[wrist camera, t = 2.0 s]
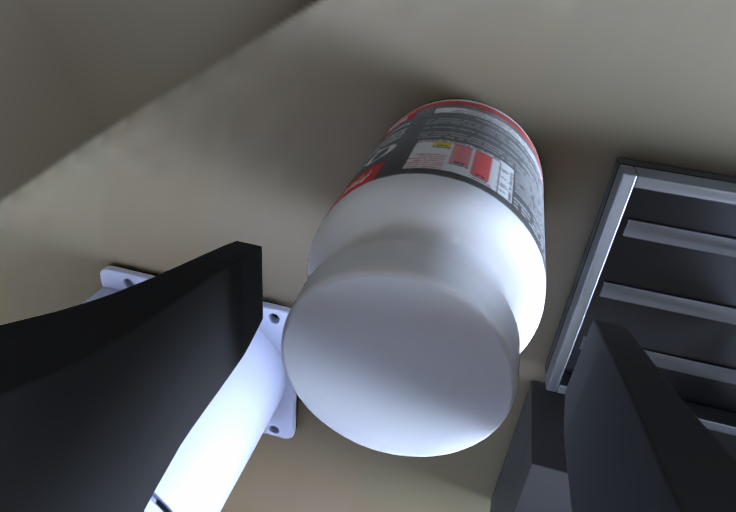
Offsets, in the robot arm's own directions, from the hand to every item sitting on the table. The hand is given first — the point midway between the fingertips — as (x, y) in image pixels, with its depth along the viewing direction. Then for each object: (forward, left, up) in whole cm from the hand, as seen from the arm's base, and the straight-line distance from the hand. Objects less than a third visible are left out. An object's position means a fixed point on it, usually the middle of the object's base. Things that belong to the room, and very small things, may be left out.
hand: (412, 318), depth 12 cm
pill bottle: (0, 0, -8) cm, 8 cm away
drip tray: (+10, -3, -8) cm, 13 cm away
